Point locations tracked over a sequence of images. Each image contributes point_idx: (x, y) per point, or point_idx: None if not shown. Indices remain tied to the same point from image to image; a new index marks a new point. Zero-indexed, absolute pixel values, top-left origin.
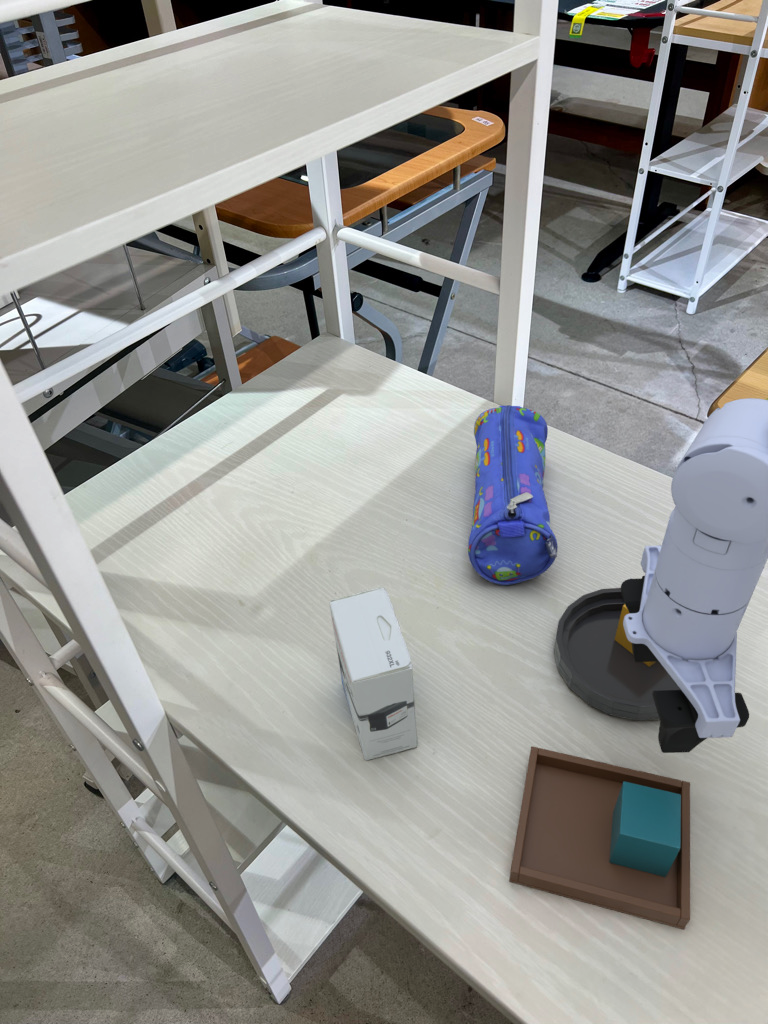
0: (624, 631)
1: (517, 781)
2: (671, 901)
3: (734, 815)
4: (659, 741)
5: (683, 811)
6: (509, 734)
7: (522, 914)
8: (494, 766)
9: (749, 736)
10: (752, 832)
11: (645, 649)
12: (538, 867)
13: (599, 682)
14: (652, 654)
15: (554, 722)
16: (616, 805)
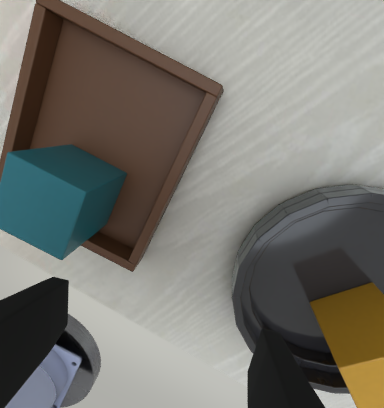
0: (376, 307)
1: (192, 59)
2: None
3: (114, 289)
4: (39, 288)
5: (100, 248)
6: (269, 69)
7: (25, 14)
8: (223, 28)
9: (192, 346)
10: (97, 295)
11: (264, 382)
12: (70, 50)
13: (309, 232)
14: (256, 377)
15: (269, 146)
16: (106, 175)
